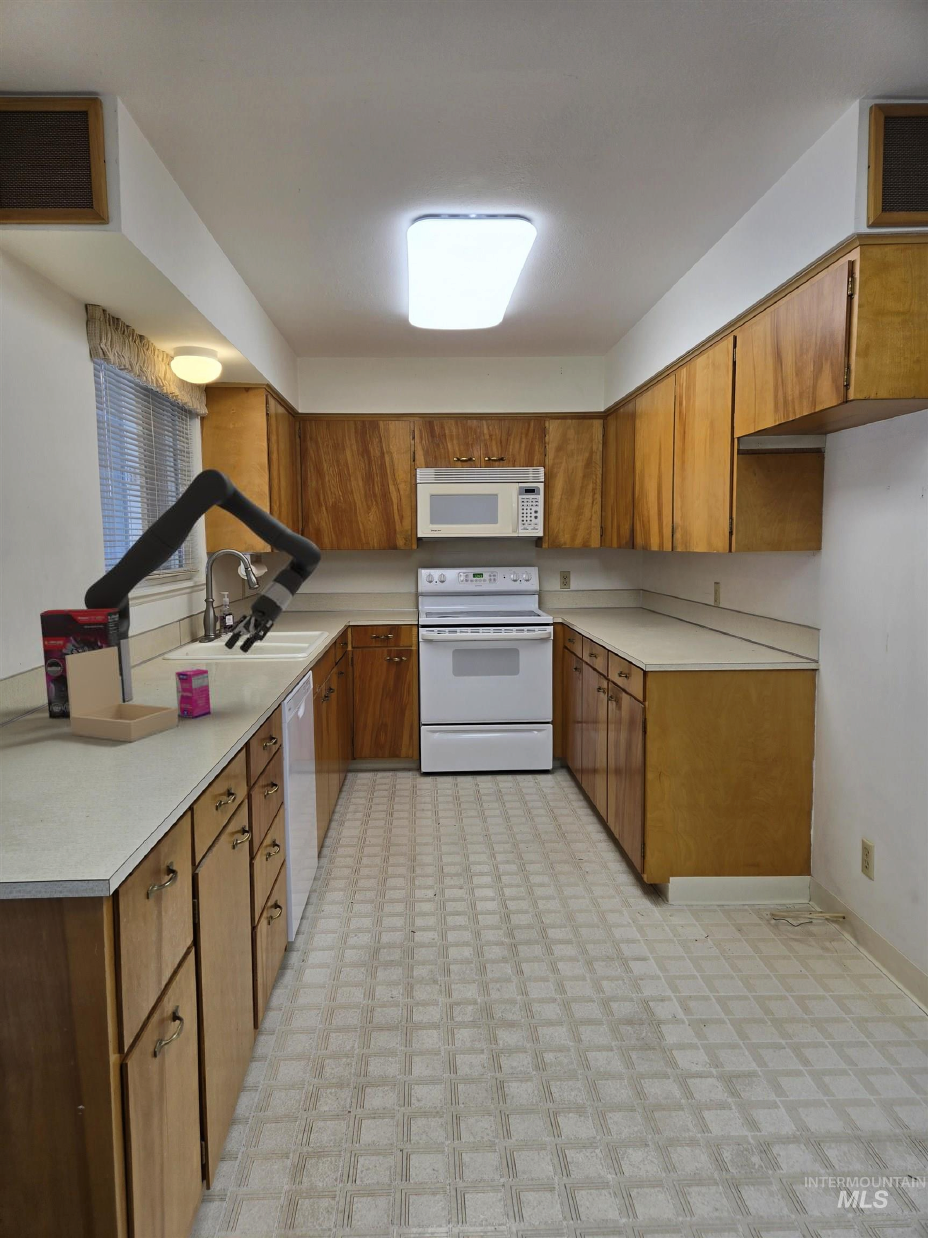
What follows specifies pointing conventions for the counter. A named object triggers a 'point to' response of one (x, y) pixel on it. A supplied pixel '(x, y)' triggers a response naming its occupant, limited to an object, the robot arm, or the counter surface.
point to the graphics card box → (75, 648)
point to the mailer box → (109, 701)
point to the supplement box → (193, 693)
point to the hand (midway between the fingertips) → (234, 649)
